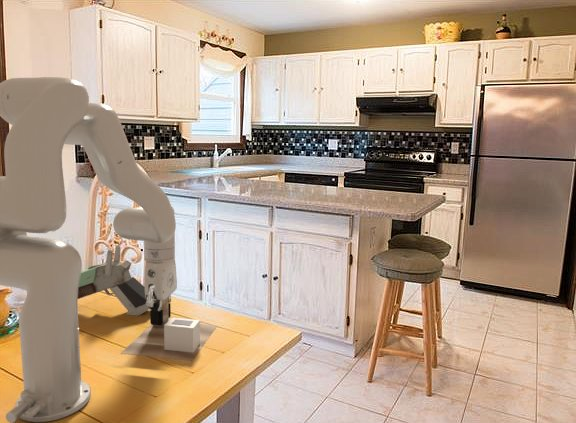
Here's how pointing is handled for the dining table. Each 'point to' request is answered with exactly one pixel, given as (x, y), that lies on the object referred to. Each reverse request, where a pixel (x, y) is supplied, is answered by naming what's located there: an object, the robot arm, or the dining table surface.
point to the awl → (165, 312)
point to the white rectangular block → (182, 334)
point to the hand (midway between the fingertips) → (160, 320)
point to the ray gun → (114, 283)
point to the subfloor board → (154, 344)
